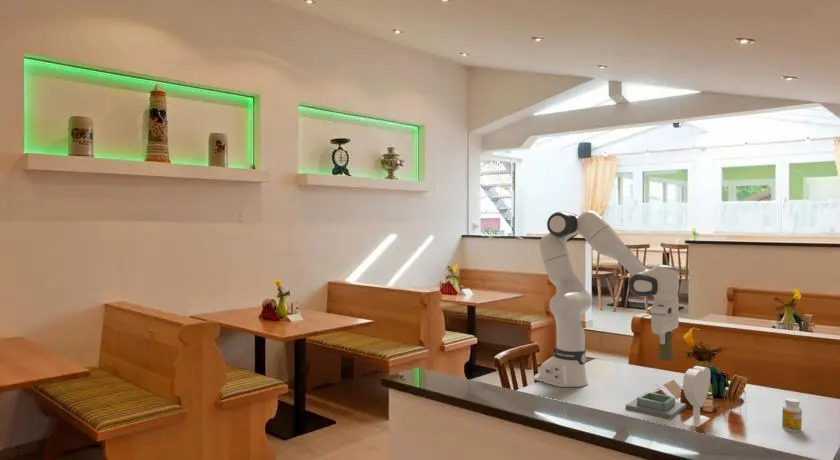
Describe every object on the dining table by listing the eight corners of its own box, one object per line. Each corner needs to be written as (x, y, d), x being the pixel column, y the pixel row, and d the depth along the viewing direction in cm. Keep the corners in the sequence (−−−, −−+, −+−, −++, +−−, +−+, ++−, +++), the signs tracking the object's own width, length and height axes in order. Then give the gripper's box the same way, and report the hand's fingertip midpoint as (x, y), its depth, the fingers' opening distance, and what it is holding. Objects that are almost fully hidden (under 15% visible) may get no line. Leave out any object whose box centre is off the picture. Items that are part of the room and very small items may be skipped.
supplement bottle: (778, 426, 199) (778, 397, 199) (793, 426, 200) (794, 397, 199) (789, 432, 194) (790, 402, 194) (805, 431, 194) (805, 402, 194)
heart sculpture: (697, 413, 212) (698, 363, 211) (712, 417, 208) (713, 365, 208) (680, 424, 201) (681, 371, 200) (695, 428, 197) (696, 374, 197)
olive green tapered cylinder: (674, 361, 227) (675, 332, 227) (657, 360, 229) (658, 331, 229) (672, 357, 233) (673, 329, 233) (656, 356, 235) (656, 328, 235)
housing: (625, 409, 216) (625, 398, 216) (642, 398, 228) (642, 388, 228) (670, 419, 206) (671, 407, 206) (686, 407, 218) (686, 397, 218)
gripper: (666, 303, 241) (666, 337, 241) (648, 309, 225) (647, 345, 225) (683, 304, 236) (682, 339, 237) (665, 311, 221) (664, 348, 221)
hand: (665, 342), depth 231 cm, fingers closed on olive green tapered cylinder, 4 cm apart
